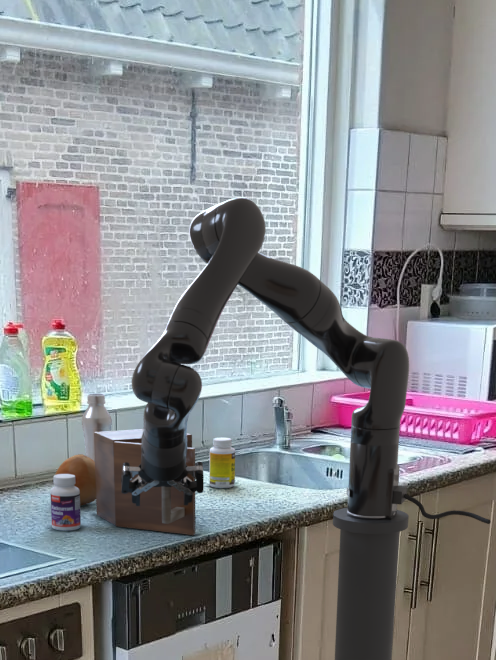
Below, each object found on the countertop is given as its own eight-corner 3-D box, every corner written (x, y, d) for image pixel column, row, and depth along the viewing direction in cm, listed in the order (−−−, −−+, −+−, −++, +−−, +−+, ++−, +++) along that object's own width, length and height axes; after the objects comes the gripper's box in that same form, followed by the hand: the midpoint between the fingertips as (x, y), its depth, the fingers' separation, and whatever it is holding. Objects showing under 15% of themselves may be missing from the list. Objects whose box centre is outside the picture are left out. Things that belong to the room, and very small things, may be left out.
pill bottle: (47, 530, 222) (45, 477, 218) (57, 523, 227) (54, 472, 223) (76, 531, 221) (74, 479, 217) (84, 525, 226) (82, 473, 222)
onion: (56, 499, 246) (54, 450, 243) (105, 499, 247) (103, 450, 244) (53, 510, 237) (51, 459, 234) (104, 509, 238) (102, 459, 235)
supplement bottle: (235, 489, 259) (235, 441, 255) (209, 488, 259) (209, 440, 255) (234, 483, 264) (235, 436, 260) (209, 483, 264) (209, 436, 260)
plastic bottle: (84, 494, 252) (80, 396, 244) (83, 487, 258) (79, 392, 251) (115, 493, 253) (112, 396, 245) (113, 487, 259) (110, 392, 252)
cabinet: (192, 517, 233) (192, 434, 227) (115, 525, 226) (113, 440, 220) (171, 507, 241) (170, 427, 235) (96, 514, 234) (93, 432, 228)
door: (177, 543, 213) (176, 454, 208) (98, 534, 219) (95, 447, 213) (195, 534, 220) (195, 448, 214) (118, 525, 226) (116, 441, 220)
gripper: (205, 428, 201) (200, 483, 215) (120, 429, 199) (120, 484, 214) (208, 466, 198) (202, 519, 212) (121, 467, 196) (122, 520, 211)
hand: (161, 501), depth 213 cm, fingers open, 8 cm apart
